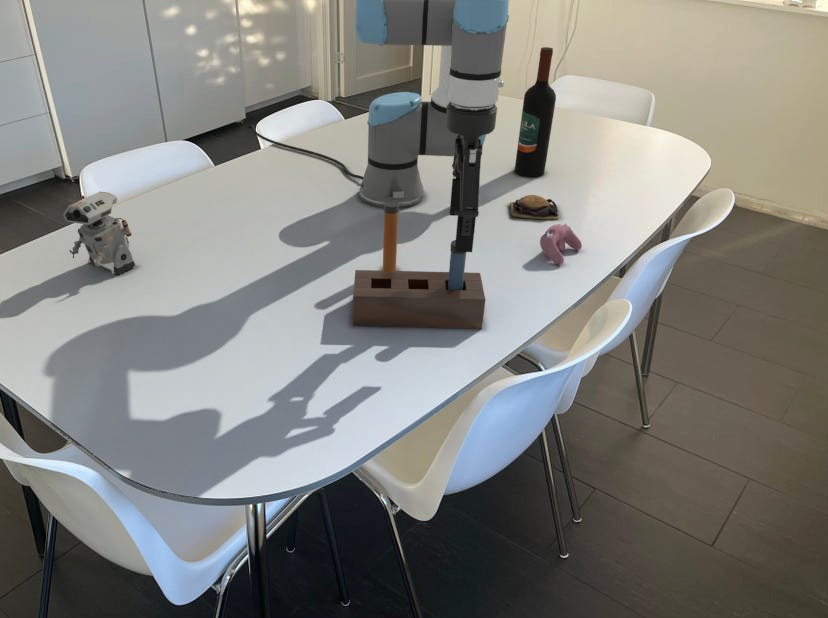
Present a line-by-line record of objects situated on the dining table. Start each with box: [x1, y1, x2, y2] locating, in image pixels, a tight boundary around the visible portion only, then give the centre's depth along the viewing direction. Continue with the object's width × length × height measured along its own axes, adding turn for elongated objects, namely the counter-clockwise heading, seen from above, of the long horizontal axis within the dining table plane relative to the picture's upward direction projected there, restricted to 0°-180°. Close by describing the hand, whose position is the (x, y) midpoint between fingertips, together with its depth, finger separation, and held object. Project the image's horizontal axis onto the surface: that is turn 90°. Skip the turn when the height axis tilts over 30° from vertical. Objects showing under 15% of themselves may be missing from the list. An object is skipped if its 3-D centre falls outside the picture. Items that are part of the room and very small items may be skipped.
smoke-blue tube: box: [448, 239, 467, 290], centre depth 127 cm, size 3×3×14 cm
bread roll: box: [509, 194, 559, 221], centre depth 167 cm, size 11×8×4 cm
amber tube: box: [382, 201, 400, 271], centre depth 141 cm, size 3×3×14 cm
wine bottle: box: [514, 46, 557, 179], centre depth 180 cm, size 8×8×30 cm
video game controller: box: [539, 223, 583, 266], centre depth 149 cm, size 10×5×7 cm, turn 141°
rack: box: [352, 269, 486, 330], centre depth 130 cm, size 10×22×6 cm, turn 87°
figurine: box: [62, 191, 136, 276], centre depth 141 cm, size 9×12×15 cm
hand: (460, 232), depth 122 cm, fingers open, 13 cm apart
